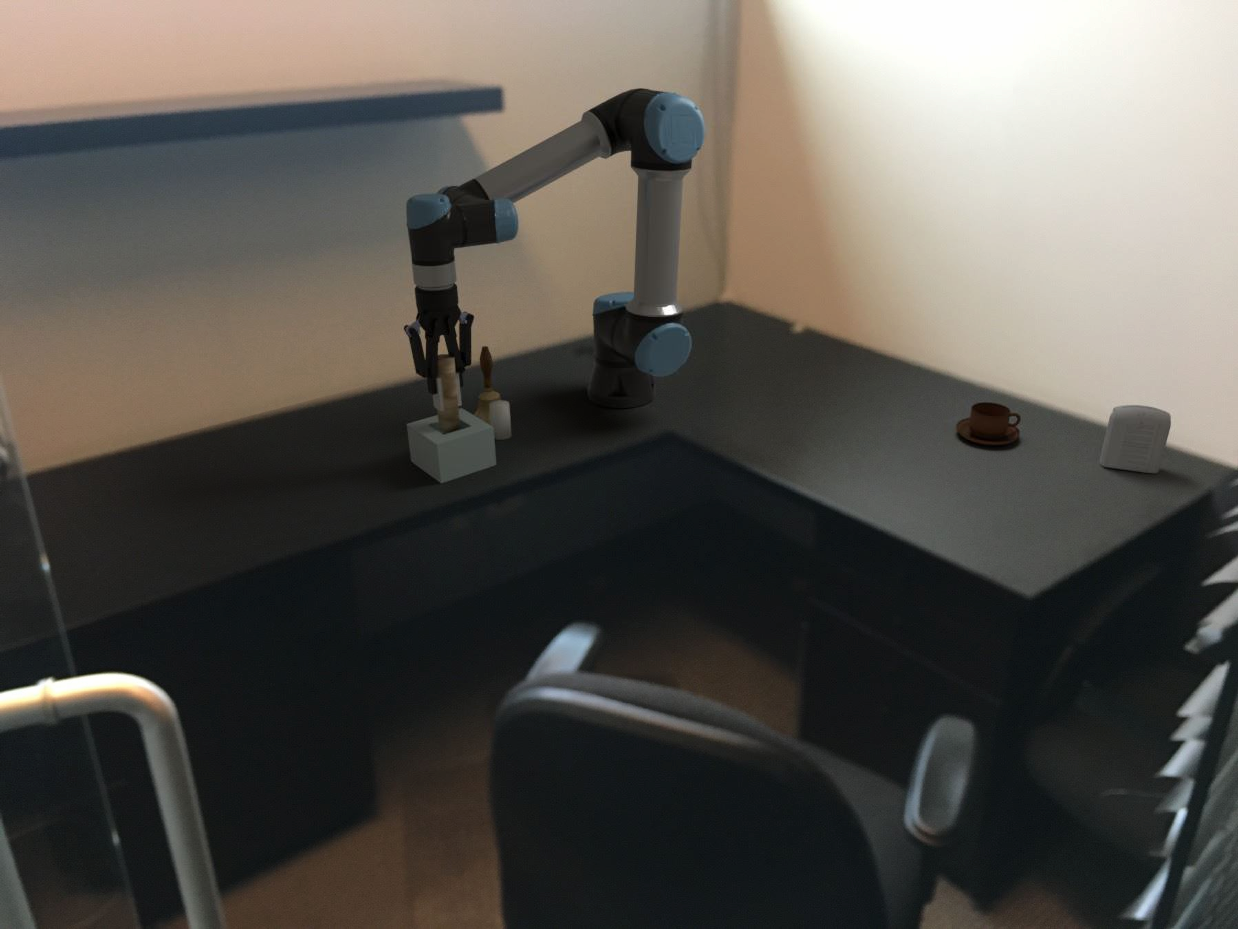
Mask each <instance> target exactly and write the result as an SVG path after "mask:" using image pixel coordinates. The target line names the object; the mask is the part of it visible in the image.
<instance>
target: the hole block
mask: <svg viewBox="0 0 1238 929" xmlns="http://www.w3.org/2000/svg"><path fill="white" fill-rule="evenodd" d="M459 418H460V428H459V429H458V430H456V431H451V432H445V431H441V430H440V429H439V423H438V414H437V415H433V416H429V417H425V418H422V419H419V420H415V421H412V422H409V423H406V430H407V439H408V446H409V453H410V462H412V463H413V464H414V465H415V466H417V467H418V468H419V469H420V470H422V471H424V472H425V473H426V474H428V475H429V476H430V477H432V478H433V479H435V481H437V482H439V483H440V484H443V483H444V484H445V483H447V482H449V481H452V480H457V479H459V478H463V477H465V476H467V475H471V474H473V473H476V472H480V471H483V470H485V469H488V468H491V467H494V466H497V456H496V454H497V453H496V445H495V442H496V441H495V439H494V428H493V427H492V426H491V425H489V424H487V423H486V422H484V421H482V420H481V419H479V418H477V417H476V416H474V414H472V413H471V412H469V411H467V410H465V409H464V408H463V407H460V408H459Z"/></svg>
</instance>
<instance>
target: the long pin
mask: <svg viewBox="0 0 1238 929" xmlns="http://www.w3.org/2000/svg"><path fill="white" fill-rule="evenodd" d="M455 374H456V371H455V359H454V357H453V356H451V355H449V354H448V353H441V354H438V364H437V377H439V378H441V381H442V391H443V401H444V411H440V410H438V409H437V410H436V411H437V415H438V423H439V429H440V430H441V431H445V432H451V431H456V430H458V429H459V428H460V418H459V409H460V408H459V407H460V406H458V398H457V387H456V375H455Z"/></svg>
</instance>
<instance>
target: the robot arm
mask: <svg viewBox="0 0 1238 929" xmlns="http://www.w3.org/2000/svg"><path fill="white" fill-rule="evenodd" d="M705 136H706V124H705V118H704V117H703V114H702V111H701V110H700V108H699V107H698V105H696V103H695V102H694V101H692V100H691V99H690V98H688V97H686V96H683V95H681V94H678V93H676V92H669V91H661V90H655V89H650V88H642V87H640V88H639V87H638V88H633V89H631V88H630V89H629V90H626V91H623V92H620V93H618V94H617V95H615V96H613V97H610V98H608V99H606V100H605V101H603V102H601V103H600V104H597V105H596V106H594V107H592V108H590V109H588V110H585V112H583V113H582V116H581V119H580V120H579V121H577V122H576V123H573V124H572V125H570V126H569V127H566V128H564V129H563V130H561V131H559V132H557V133H555V134H553V135H552V136H550V137H548V138H546V139H544V140H542V141H541V142H539V143H537V144H535V145H533V146H531V147H529V148H528V149H525V150H524V151H522V152H520V153H519V154H517V155H515V156H513V157H511V158H508V160H505V161H503V162H502V163H500V164H498V165H496V166H495V167H492V168H490V169H489V170H487V171H485V172H484V173H481V174H479V175H478V176H476V177H474V178H472V179H469V180H468V181H466V182H464V183H462V184H460V185H446V186H444V187H442V188H440V189H438V191H437V192H436V193H435V192H433V193H421V194H416V195H413V196H411V197H409V198H408V199H407V200H406V203H405V206H406V207H405V208H406V210H405V211H406V214H405V215H406V228H407V234H408V240H409V241H408V242H409V248H410V256H411V267H412V269H411V270H412V278H413V284H414V285H415V287H414V296H415V304H416V309H417V310H416V311H417V312H416V317H415V320H414V321H413V322H412V323H411V324H405V325H404V326H403V332H405V334H406V335H407V337H408V341H409V345H410V350H411V356H412V359H413V364H414V365H413V366H414V370H415V374H416V375H417V376H418V375H419V376H420V377H422V378H424V379H426V383H427V384H426V385H427V392H428V393H429V394H431V395H432V401H433V407H434V408H435V409H438V410H440V411H444V401H443V391H442V381H441V378H439V377H437V364H438V355H439V343H440V342H441V340H440V339H441V336H443V338H444V342H445V346H446V350H447V354H449V355H451V356H453V357H454V359H455V371H456V374H455V375H456V387H457V398H458V406H459V407H460V406H462V405H463V404H462V394H461V388H462V387H463V388H464V373H465V372H466V368H467V367H470V366H472V326H473V323H474V319H475V315H473V314H472V313H470V312H468V311H462V310H461V309H460V307H459V292H458V285H457V284H456V282H457V279H458V278H457V270H456V258H455V249H462V248H470V247H476V246H478V247H479V246H484V245H486V246H487V245H492V244H500V243H504V242H505V243H506V242H509V241H512V240H514V239H515V238H516V237H517V235H518V232H519V217H518V215H519V214H518V212H517V207H516V206H515V205H514V204H515V203H517V202H518V201H520V200H522V199H525V198H526V197H528V196H529V195H531V194H534V193H535V192H537V191H539V190H540V189H543V188H545V187H546V186H548V185H551V183H553V182H556V181H557V180H559V179H561V178H562V177H565V176H566V175H568V174H570V173H572V172H573V171H576V170H577V169H579V168H581V167H583V166H584V165H586V164H588V163H590V162H592V161H593V160H595V159H596V160H597V159H598V158H600V159H601V158H602V159H605V160H606V159H608V158H611V157H612V156H614V155H616V154H619V153H623V152H630V169H632V171H634V172H635V174H636V175H637V197H636V199H637V200H636V201H637V202H636V229H635V230H636V231H635V254H634V278H633V280H634V281H633V291H621V292H620V291H619V292H612V293H607V294H603V295H599V296H598V297H597V298H595V300H594V302H593V307H592V314H591V315H592V316H593V317H592V322H593V347H594V348H593V350H594V352H593V354H594V363H593V368H592V371H591V375H590V379H589V382H588V385H587V398H588V399H589V401H590V402H592V403H593V404H595V405H598V406H601V407H606V408H611V409H612V408H613V409H627V408H629V409H630V408H637V407H640V406H644V405H646V404H649V403H651V402H652V401H653V400H654V399H656V398H655V397H656V393H657V391H656V390H657V388H656V383H655V380H654V377H667V376H669V375H671V374H674V373H675V372H678V370H679V369H680V368H681V367H682V365H685V363H686V362H687V360H688V359H689V356H690V354H691V351H692V344H693V342H692V336H691V334H690V332H689V330H688V329H687V328H686V327H685V326H683V319H684V316H683V315H684V307H683V305H681V303H680V302H679V301H678V300H677V295H678V294H677V290H678V277H679V276H678V273H679V258H680V257H679V255H680V239H681V238H680V237H681V236H680V235H681V219H682V202H683V201H682V200H683V186H684V184H683V183H684V182H683V181H684V178H685V176H686V175H687V174H689V172H691V170H692V167H693V166H692V165H693V162H692V161H693V158H694V157H696V156H697V155H698V151H700V150H701V149H702V147H703V144H704V142H705V138H706V137H705ZM458 322H459V323H458ZM457 324H459V325H458V334H457V331H456V326H457ZM421 328H422V330H423V331H424V339H425V352H424V347H423V346H424V345H423V343H422V338H421V336H420V335H421ZM457 337H458V339H457Z"/></svg>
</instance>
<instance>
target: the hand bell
mask: <svg viewBox="0 0 1238 929" xmlns="http://www.w3.org/2000/svg"><path fill="white" fill-rule="evenodd" d="M480 351H481V352H480V356H479V366H480V369H481V370H480V371H482V376H483V384H484V385H483V389H484V391H483V392H481V393H480V394H479V395H478V403H477V408H476V411H475V412H474V413H473V415H474V416H476V417H477V418H479V419H481V420H482V421H484V422H486V423H487V424H489V425H491V420H490V407H489V404H490V403H491V402H493V401H498V400H501V394H500V393H499V392H497V391H494V390H493V382H492V371H493V366H494V365H493V358H492V357H493V356H492V353H491V352H490V349H489V347H488V346H487V345H484V346H482V347H481V350H480ZM511 416H512V415H511V414H510V419H511Z"/></svg>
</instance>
